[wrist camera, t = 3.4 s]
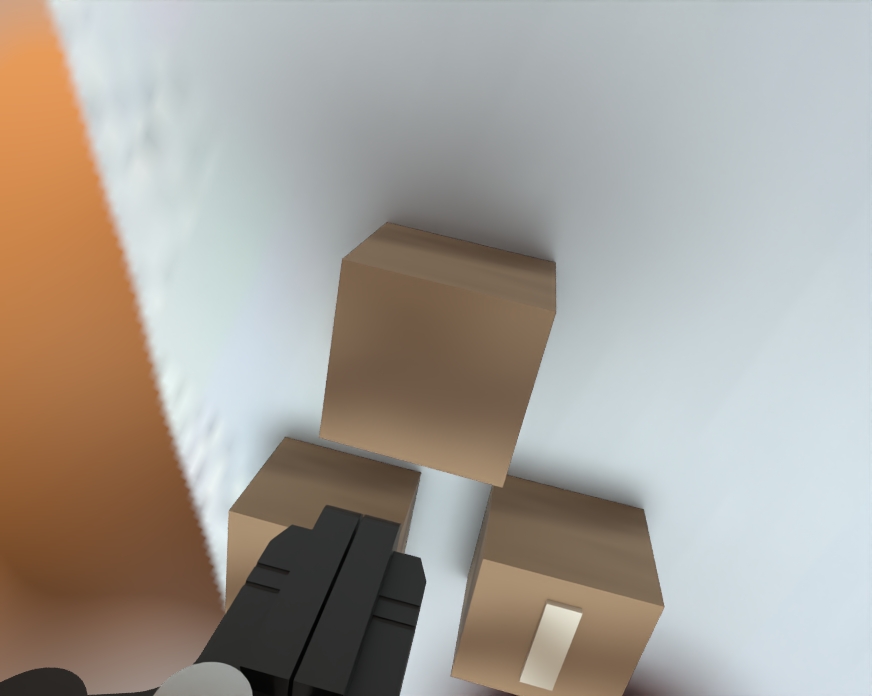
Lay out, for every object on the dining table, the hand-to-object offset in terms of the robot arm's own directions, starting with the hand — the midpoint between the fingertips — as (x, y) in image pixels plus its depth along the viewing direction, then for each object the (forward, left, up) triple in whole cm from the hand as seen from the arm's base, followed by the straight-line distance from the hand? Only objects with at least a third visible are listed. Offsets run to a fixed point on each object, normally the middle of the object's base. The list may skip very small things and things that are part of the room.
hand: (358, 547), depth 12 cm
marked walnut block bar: (+9, +6, -12) cm, 16 cm away
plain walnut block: (0, 0, -12) cm, 12 cm away
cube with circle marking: (+10, -3, -12) cm, 15 cm away
